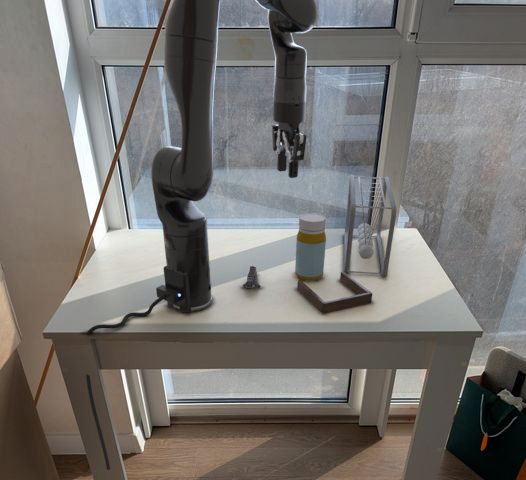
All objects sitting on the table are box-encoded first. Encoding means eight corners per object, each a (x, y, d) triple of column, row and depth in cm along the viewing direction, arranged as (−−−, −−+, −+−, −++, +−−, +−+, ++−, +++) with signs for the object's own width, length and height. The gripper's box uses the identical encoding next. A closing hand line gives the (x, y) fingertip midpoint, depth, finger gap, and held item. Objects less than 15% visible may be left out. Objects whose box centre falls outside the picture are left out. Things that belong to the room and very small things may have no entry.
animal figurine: (246, 279, 128) (246, 259, 126) (263, 280, 128) (264, 260, 125) (239, 293, 117) (239, 272, 115) (258, 294, 117) (258, 273, 115)
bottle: (327, 273, 128) (332, 215, 120) (314, 284, 123) (318, 224, 115) (303, 267, 131) (306, 210, 123) (290, 277, 126) (292, 218, 118)
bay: (296, 289, 121) (297, 280, 119) (342, 280, 125) (343, 271, 124) (322, 313, 111) (323, 303, 110) (371, 303, 115) (372, 293, 114)
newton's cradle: (386, 280, 125) (397, 209, 115) (343, 277, 127) (351, 207, 117) (379, 235, 150) (388, 174, 140) (344, 233, 151) (350, 172, 141)
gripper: (262, 95, 121) (261, 168, 130) (288, 104, 110) (286, 183, 119) (290, 94, 123) (288, 165, 133) (319, 102, 112) (314, 180, 122)
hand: (287, 173), depth 126 cm, fingers open, 5 cm apart
